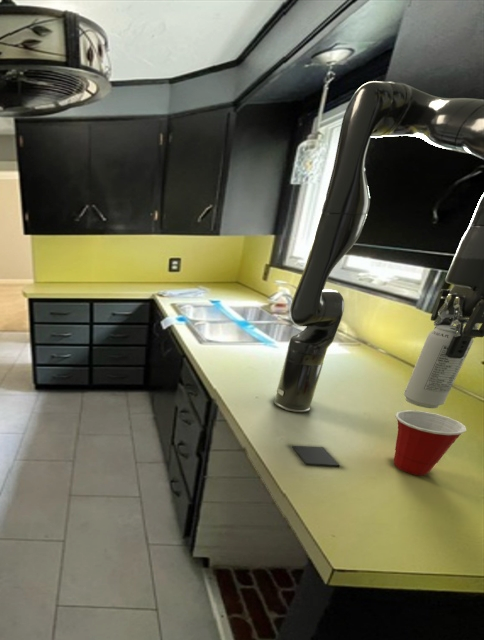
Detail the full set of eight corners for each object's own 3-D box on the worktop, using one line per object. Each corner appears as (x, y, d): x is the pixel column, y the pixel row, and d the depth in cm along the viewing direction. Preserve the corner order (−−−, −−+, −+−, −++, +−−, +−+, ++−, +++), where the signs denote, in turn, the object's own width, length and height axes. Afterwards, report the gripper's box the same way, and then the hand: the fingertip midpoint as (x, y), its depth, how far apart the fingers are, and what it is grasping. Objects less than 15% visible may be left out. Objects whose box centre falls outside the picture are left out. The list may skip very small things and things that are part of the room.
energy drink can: (427, 397, 73) (460, 324, 67) (450, 411, 68) (487, 333, 62) (394, 394, 74) (423, 323, 68) (414, 408, 69) (448, 332, 63)
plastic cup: (387, 447, 87) (405, 402, 82) (447, 470, 79) (472, 422, 74) (370, 463, 81) (389, 416, 76) (434, 490, 73) (459, 439, 68)
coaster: (292, 447, 86) (292, 445, 86) (322, 448, 86) (323, 447, 86) (306, 464, 80) (306, 463, 80) (339, 466, 80) (339, 465, 79)
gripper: (549, 260, 53) (494, 367, 60) (489, 253, 65) (449, 343, 72) (482, 258, 55) (437, 361, 62) (437, 252, 67) (403, 338, 74)
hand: (444, 351), depth 67 cm, fingers closed on energy drink can, 6 cm apart
